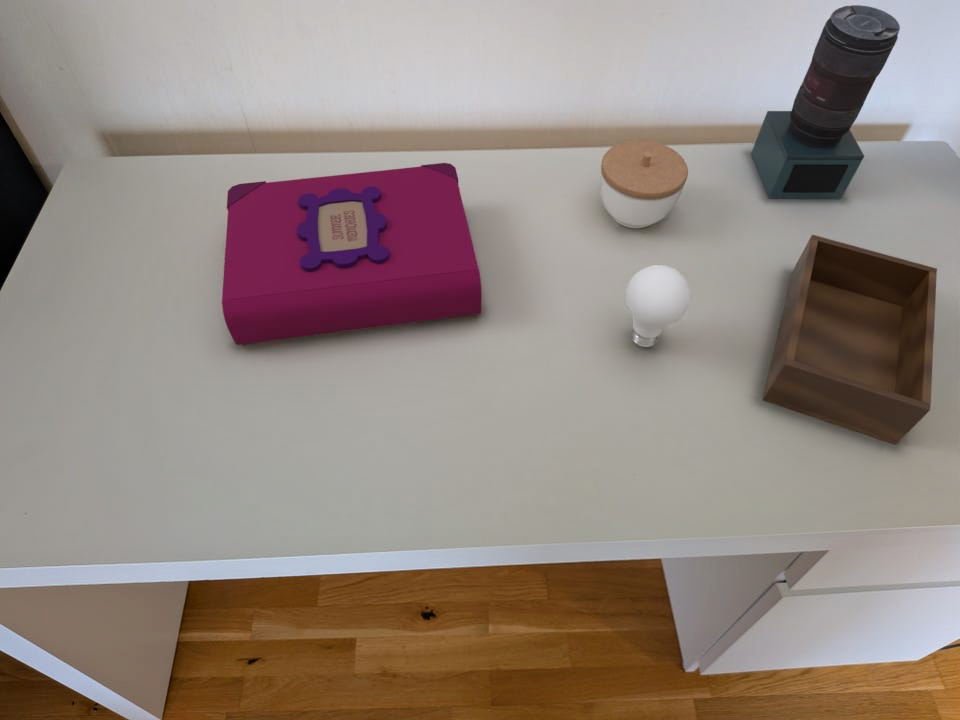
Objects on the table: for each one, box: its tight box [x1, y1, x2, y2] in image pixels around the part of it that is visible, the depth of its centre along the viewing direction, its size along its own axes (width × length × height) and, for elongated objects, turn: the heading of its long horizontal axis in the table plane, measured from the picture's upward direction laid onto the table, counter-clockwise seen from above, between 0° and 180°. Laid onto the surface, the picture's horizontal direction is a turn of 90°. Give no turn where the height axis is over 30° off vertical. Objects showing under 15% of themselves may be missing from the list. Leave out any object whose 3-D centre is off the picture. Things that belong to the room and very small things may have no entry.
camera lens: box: [789, 4, 901, 147], centre depth 84 cm, size 8×8×15 cm
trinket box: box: [599, 139, 689, 229], centre depth 87 cm, size 11×11×9 cm
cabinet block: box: [750, 110, 865, 200], centre depth 93 cm, size 10×10×7 cm
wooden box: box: [762, 234, 938, 445], centre depth 75 cm, size 21×14×7 cm, turn 156°
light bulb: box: [625, 264, 691, 348], centre depth 73 cm, size 7×7×11 cm
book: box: [221, 162, 482, 346], centre depth 81 cm, size 21×28×8 cm
